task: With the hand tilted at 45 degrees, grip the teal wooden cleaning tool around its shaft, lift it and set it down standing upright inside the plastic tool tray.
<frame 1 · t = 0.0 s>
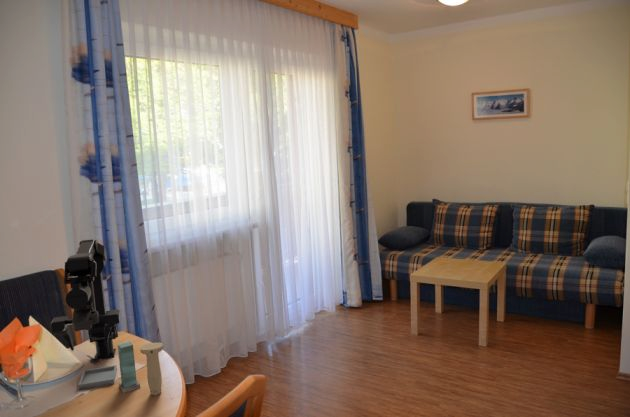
hand: (89, 347, 151), 15 cm above the table, tool pointing down, fingers open, 9 cm apart
tool tray: (98, 379, 163), on the table
cleaner tool: (129, 387, 157), on the table
handle: (156, 393, 152), on the table
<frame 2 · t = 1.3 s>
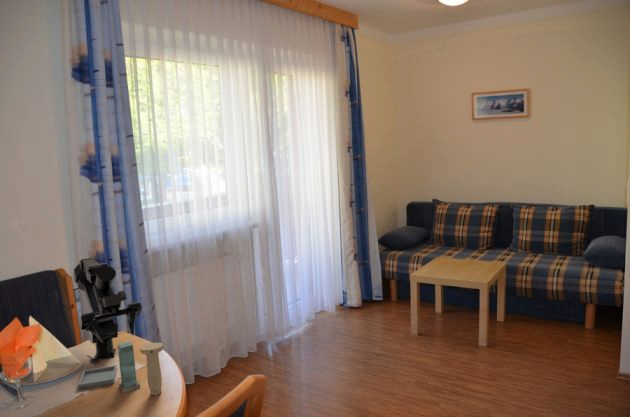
hand: (118, 338, 161), 13 cm above the table, tool tilted 45°, fingers open, 9 cm apart
nothing on the table moved.
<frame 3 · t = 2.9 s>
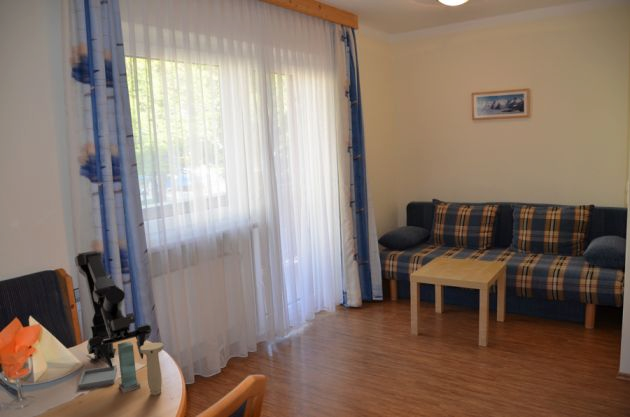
hand: (127, 362, 155), 8 cm above the table, tool tilted 45°, fingers open, 9 cm apart
nothing on the table moved.
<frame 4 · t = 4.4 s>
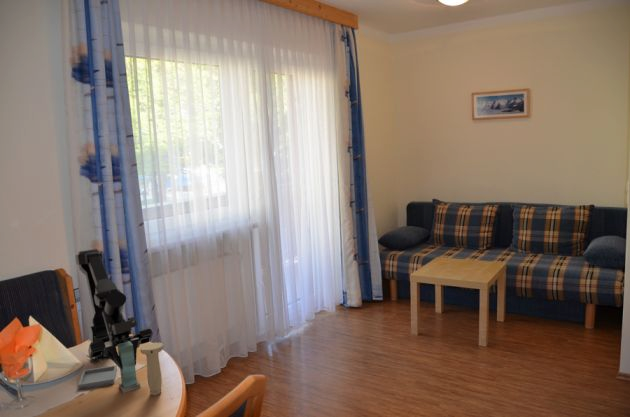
hand: (128, 367, 155), 7 cm above the table, tool tilted 45°, fingers closed on cleaner tool, 4 cm apart
cleaner tool: (129, 387, 157), on the table, touching gripper
everything else where it was.
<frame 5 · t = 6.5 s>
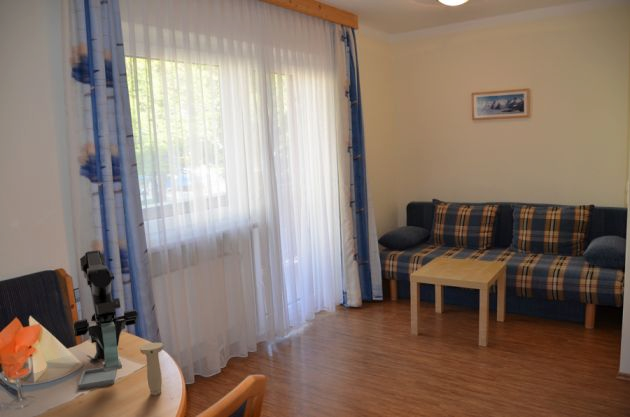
hand: (110, 347, 156), 13 cm above the table, tool tilted 45°, fingers closed on cleaner tool, 4 cm apart
cleaner tool: (112, 367, 158), point 6 cm above the table, touching gripper
everything else where it was.
when the fingers open (9 cm above the table, at t = 8.8 s): cleaner tool stays where it is, resting on tool tray.
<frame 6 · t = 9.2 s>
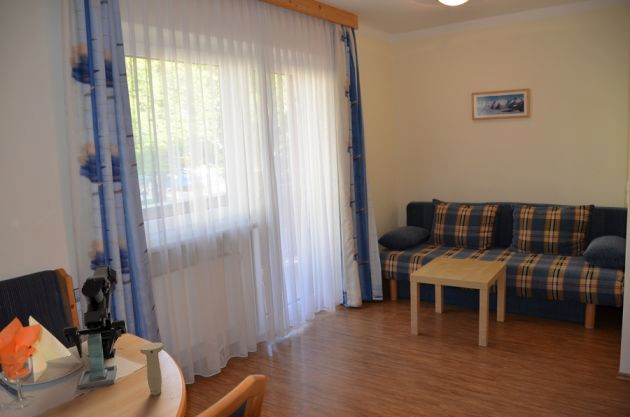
hand: (95, 355, 160), 9 cm above the table, tool tilted 45°, fingers open, 8 cm apart
cleaner tool: (98, 377, 163), point 1 cm above the table, touching tool tray
everything else where it was.
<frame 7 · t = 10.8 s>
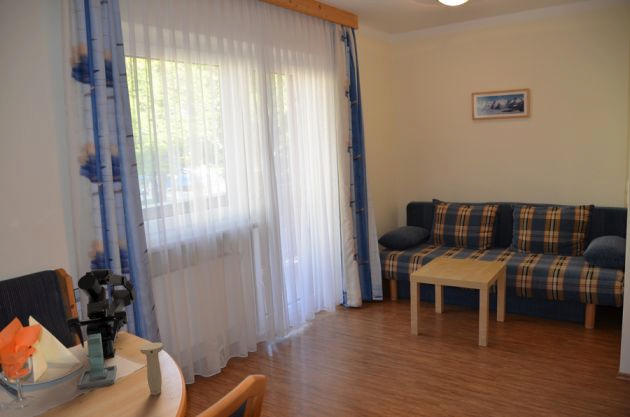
hand: (98, 344, 166), 10 cm above the table, tool tilted 45°, fingers open, 9 cm apart
nothing on the table moved.
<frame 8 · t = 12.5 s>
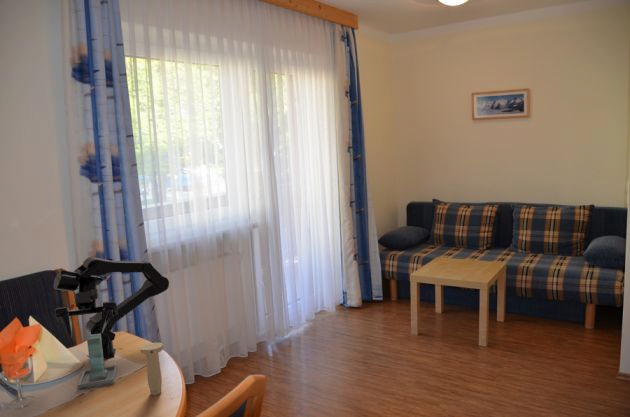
hand: (86, 335, 164), 14 cm above the table, tool tilted 45°, fingers open, 9 cm apart
nothing on the table moved.
at the end: cleaner tool 0.0 cm off-centre on the tool tray, point 0.6 cm above the tool tray's base; cleaner tool tilted 0°; the gripper is holding nothing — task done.
